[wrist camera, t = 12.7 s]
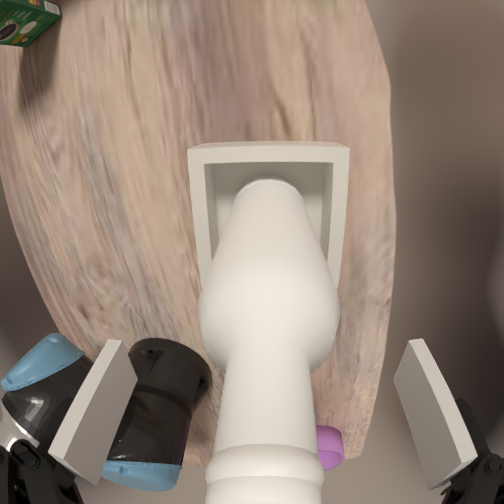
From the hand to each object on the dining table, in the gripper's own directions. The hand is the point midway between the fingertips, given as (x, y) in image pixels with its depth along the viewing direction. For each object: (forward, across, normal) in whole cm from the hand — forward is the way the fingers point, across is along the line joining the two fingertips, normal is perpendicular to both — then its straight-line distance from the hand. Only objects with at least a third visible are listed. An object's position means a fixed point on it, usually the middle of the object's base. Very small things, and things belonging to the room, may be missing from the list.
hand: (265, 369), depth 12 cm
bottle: (+23, 0, 0) cm, 23 cm away
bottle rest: (+24, 0, 0) cm, 24 cm away
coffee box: (+24, -31, +30) cm, 50 cm away
